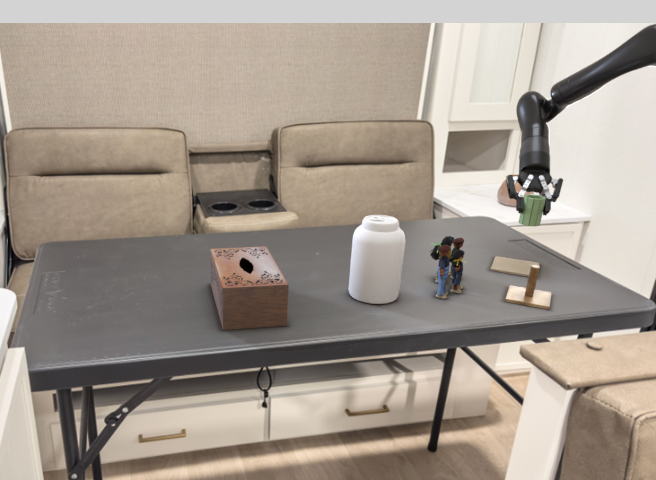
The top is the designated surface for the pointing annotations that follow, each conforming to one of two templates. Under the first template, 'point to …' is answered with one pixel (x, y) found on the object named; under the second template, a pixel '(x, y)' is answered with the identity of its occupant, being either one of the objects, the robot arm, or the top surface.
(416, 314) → the top surface
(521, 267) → the oatmeal mat
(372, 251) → the can
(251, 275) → the tissue box cover
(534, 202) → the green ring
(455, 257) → the doll family
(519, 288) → the stacking stand
